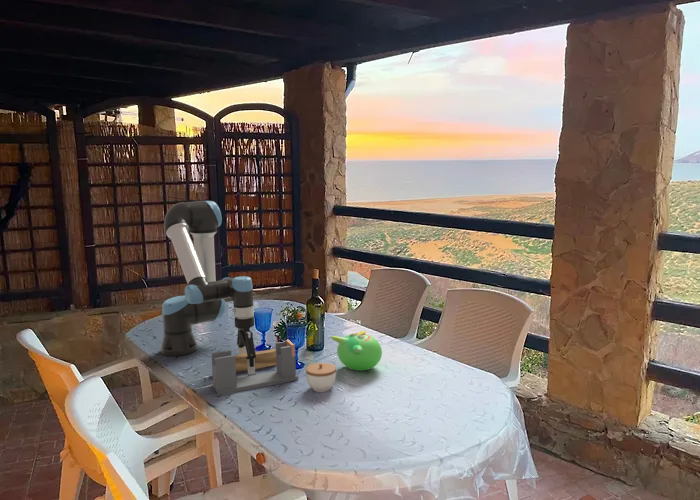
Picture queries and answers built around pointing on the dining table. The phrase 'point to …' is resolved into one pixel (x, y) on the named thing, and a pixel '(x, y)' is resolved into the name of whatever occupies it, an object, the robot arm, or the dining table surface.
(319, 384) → the lidded jar
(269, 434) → the dining table surface
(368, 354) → the toy bird
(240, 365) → the slat
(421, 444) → the dining table surface
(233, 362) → the stand
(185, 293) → the robot arm
